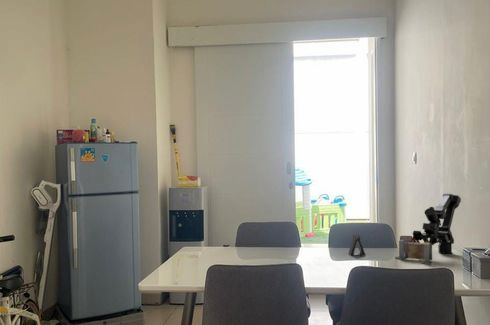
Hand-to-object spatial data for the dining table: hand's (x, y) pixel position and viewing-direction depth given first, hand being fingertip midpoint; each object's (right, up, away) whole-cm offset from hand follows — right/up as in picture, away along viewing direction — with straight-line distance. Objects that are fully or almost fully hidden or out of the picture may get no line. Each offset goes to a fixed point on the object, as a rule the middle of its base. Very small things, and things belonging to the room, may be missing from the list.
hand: (426, 248), depth 247 cm
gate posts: (-8, -7, -1) cm, 10 cm away
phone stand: (-34, -8, +19) cm, 40 cm away
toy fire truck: (0, -7, +24) cm, 25 cm away
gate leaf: (-4, -6, +1) cm, 7 cm away
